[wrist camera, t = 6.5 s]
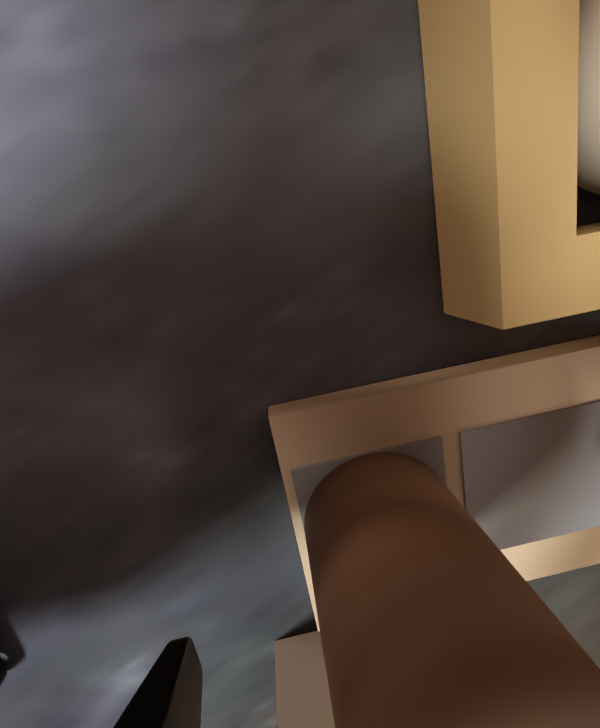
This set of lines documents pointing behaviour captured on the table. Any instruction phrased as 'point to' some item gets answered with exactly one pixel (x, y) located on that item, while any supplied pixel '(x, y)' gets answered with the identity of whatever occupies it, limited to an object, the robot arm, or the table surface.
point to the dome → (589, 97)
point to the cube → (302, 683)
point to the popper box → (507, 160)
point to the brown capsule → (432, 611)
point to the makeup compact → (472, 447)
